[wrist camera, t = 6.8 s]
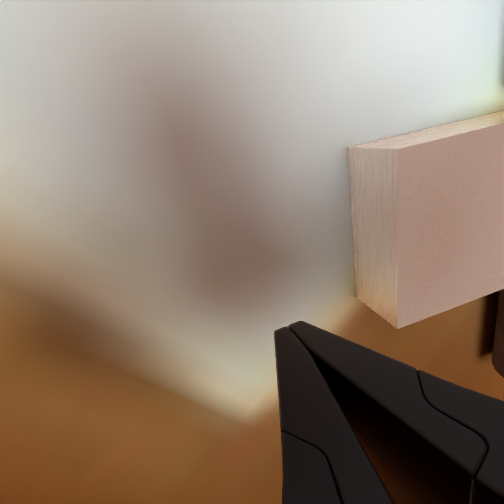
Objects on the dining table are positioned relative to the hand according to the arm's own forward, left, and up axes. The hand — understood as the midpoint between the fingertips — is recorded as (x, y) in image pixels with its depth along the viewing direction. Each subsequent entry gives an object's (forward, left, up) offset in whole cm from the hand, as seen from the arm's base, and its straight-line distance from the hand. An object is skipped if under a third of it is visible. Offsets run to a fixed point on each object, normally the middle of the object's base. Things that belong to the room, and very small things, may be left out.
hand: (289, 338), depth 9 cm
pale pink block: (0, -11, -5) cm, 12 cm away
